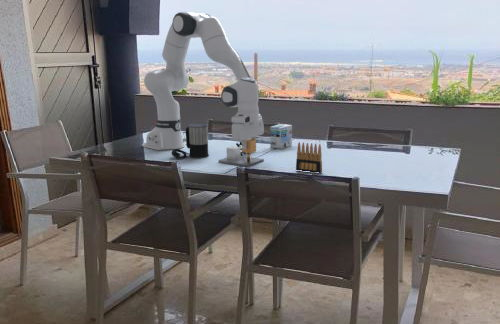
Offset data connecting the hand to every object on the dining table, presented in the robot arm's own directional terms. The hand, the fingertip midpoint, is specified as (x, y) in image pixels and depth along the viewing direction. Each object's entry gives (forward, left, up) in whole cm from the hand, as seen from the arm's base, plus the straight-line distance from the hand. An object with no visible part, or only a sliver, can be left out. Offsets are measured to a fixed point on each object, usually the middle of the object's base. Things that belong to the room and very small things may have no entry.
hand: (248, 148), depth 204 cm
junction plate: (-4, 0, -7) cm, 8 cm away
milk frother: (-30, -4, -7) cm, 31 cm away
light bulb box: (-5, +38, -7) cm, 39 cm away
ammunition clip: (+29, 0, -7) cm, 30 cm away
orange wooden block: (0, 0, -2) cm, 2 cm away
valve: (-12, +16, -7) cm, 21 cm away
